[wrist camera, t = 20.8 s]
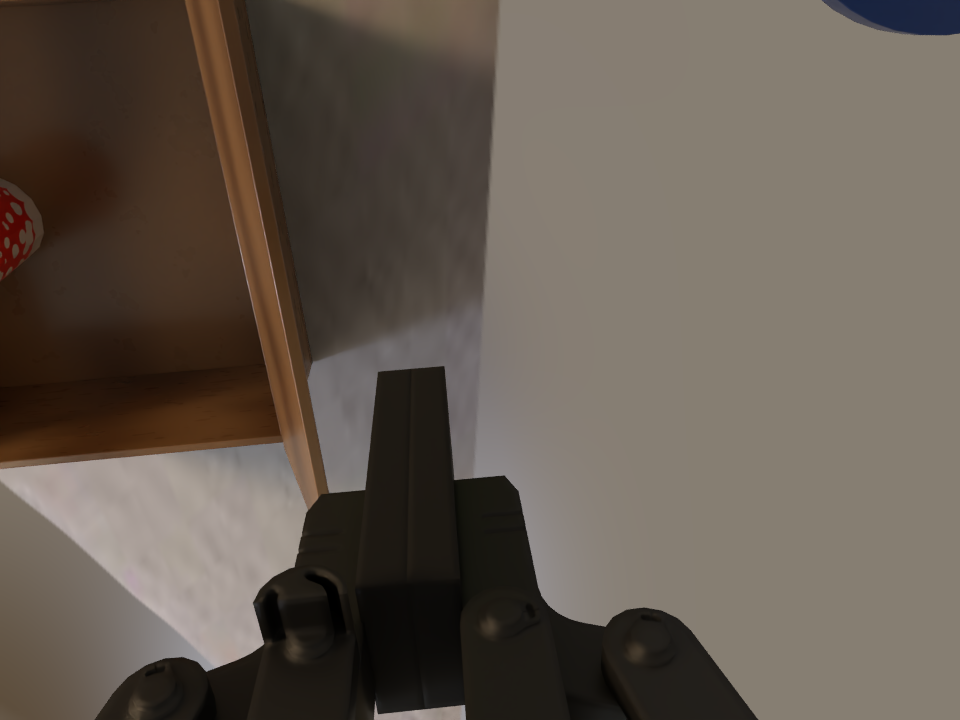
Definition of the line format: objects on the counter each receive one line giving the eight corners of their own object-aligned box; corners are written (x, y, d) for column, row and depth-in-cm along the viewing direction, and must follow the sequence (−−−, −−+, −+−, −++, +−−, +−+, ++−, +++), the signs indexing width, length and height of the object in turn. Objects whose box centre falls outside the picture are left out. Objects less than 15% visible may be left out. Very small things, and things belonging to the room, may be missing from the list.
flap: (180, -22, 24) (192, -23, 24) (284, 450, 33) (293, 447, 33) (208, -42, 17) (225, -42, 17) (333, 576, 26) (344, 572, 26)
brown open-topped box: (241, -17, 32) (190, -23, 25) (312, 362, 41) (290, 441, 34) (-184, 8, 31) (-370, 10, 24) (-16, 391, 40) (-112, 479, 33)
